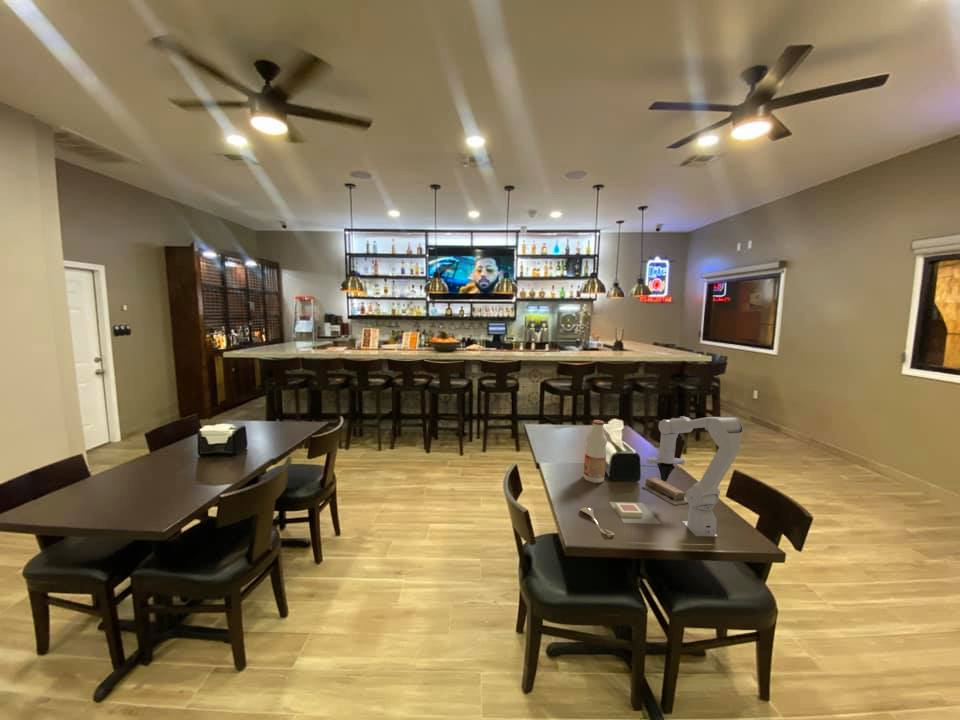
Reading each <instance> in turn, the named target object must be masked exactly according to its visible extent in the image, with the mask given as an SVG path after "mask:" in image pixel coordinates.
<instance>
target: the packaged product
mask: <svg viewBox="0 0 960 720" xmlns="http://www.w3.org/2000/svg"><path fill="white" fill-rule="evenodd" d="M641 488H642V489H645V491H649V492H651V493H652V494H654V495H656V496H658V497H659V498H662V499H663V500H664V501H666V502H668V503H670V504H672V505H674V506H675V505H684V504H688V502H687V499H686V492H685V491H682V490H680V489H679V488H677V487H675V486H673V485H671V484H669V483H667V481H662V480H661V478H658V477H650V478H646V479H645V484H642V487H641Z"/></svg>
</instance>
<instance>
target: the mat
mask: <svg viewBox="0 0 960 720" xmlns="http://www.w3.org/2000/svg"><path fill="white" fill-rule="evenodd" d="M608 503H609V505H611V507H612V509H613V510H614V511H615V512H616V514H617V515H618V517H619V518H620V520H621V521H622V522H623V524H650V525H653V524H655V525H661V524H662V523H661V522H660V521H659V520H658V519H657V518H656V517H655V515H654V514H653V513H652V511H650V509H648V508H647V506H646V505H645V504H644V503H643V502H631V501H630V502H626V501H623V502H622V501H608ZM616 503H627V504H636V505H637V506H638V507H639V509H640V510H641V511H642V512H643V517H622V516H621V515H620V513H619V512H618V510H617V509H616V508H615V505H616Z"/></svg>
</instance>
